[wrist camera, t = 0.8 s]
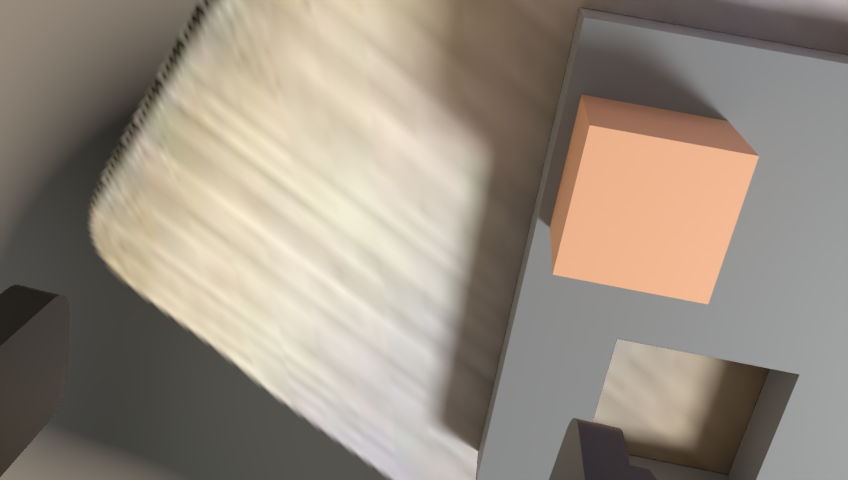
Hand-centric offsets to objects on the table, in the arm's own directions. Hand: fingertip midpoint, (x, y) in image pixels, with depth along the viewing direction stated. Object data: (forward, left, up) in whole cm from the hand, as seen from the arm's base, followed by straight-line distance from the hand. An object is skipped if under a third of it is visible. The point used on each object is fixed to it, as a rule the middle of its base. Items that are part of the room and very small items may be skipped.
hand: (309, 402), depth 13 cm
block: (-7, +1, -17) cm, 19 cm away
